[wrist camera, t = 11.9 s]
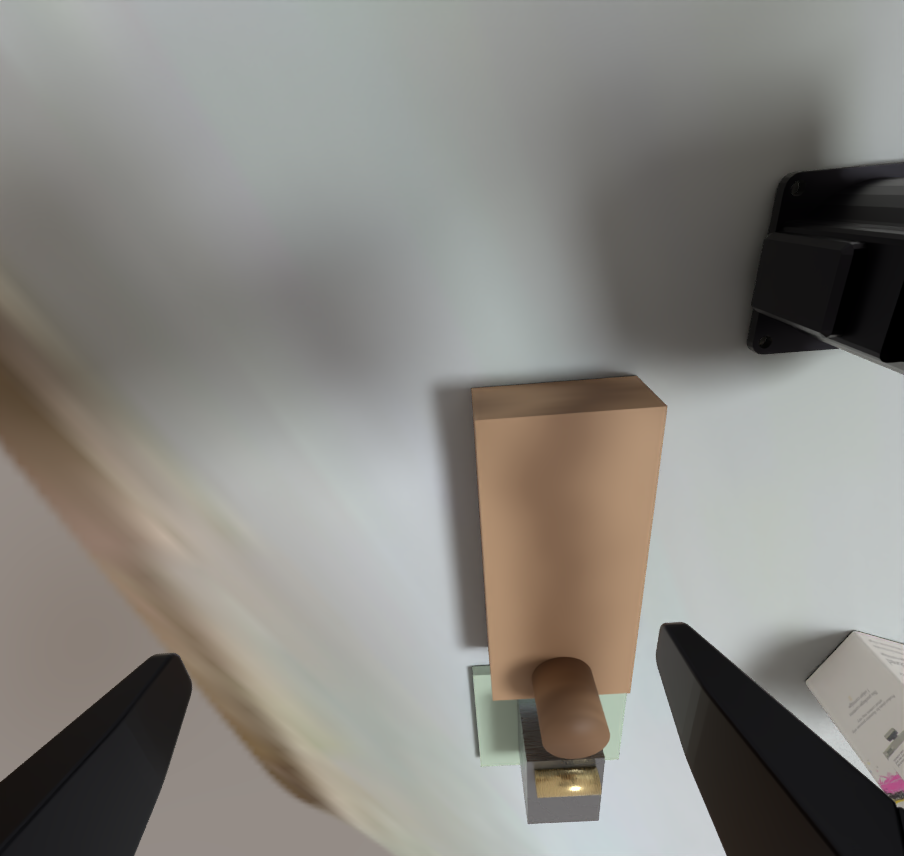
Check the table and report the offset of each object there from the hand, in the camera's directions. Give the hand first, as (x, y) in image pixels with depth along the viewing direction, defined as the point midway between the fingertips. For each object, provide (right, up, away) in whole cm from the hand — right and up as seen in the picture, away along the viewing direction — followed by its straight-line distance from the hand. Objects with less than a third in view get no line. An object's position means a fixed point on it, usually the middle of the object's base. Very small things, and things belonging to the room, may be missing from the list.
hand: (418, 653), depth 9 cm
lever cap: (+7, -14, +21) cm, 26 cm away
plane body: (+6, -1, +15) cm, 16 cm away
